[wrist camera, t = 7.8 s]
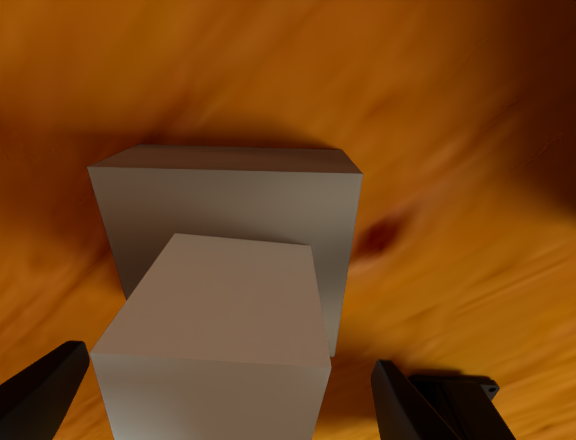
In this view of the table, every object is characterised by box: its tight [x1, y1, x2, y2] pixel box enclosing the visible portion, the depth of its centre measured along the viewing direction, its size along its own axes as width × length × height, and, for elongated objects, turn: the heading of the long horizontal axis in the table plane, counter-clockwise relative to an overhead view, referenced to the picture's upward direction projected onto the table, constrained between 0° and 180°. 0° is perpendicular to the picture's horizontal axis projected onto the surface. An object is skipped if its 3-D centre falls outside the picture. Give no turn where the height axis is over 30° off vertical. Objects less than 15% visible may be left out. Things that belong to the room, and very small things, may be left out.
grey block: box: [87, 144, 363, 357], centre depth 13 cm, size 9×9×4 cm
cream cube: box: [90, 233, 332, 440], centre depth 9 cm, size 5×5×5 cm
